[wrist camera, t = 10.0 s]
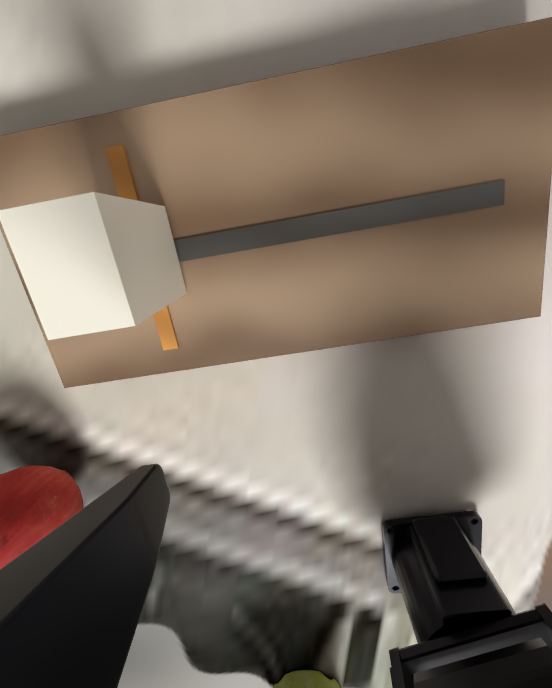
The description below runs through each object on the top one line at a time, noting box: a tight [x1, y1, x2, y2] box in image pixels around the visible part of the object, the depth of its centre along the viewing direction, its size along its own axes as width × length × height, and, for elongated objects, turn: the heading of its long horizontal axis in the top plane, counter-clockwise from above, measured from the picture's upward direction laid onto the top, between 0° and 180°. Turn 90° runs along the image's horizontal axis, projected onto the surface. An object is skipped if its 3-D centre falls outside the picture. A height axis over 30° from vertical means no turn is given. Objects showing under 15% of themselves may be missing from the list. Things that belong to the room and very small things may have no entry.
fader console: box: [0, 17, 552, 388], centre depth 17 cm, size 12×25×2 cm, turn 100°
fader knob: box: [0, 192, 187, 340], centre depth 13 cm, size 4×3×6 cm
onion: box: [0, 465, 83, 569], centre depth 19 cm, size 6×6×8 cm
